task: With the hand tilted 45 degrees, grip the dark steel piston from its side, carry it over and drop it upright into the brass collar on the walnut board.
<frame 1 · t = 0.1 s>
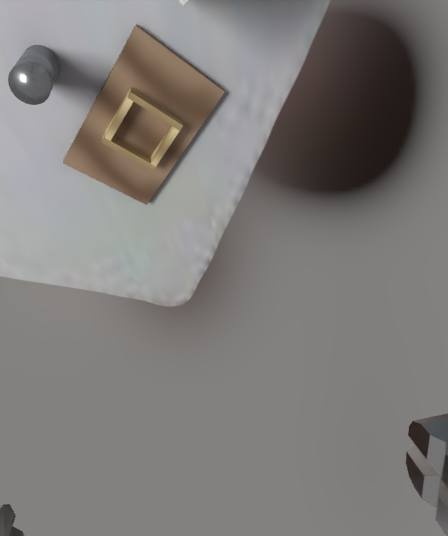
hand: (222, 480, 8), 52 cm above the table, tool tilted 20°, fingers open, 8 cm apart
collar board: (142, 125, 55), on the table
steel piston: (41, 63, 48), on the table
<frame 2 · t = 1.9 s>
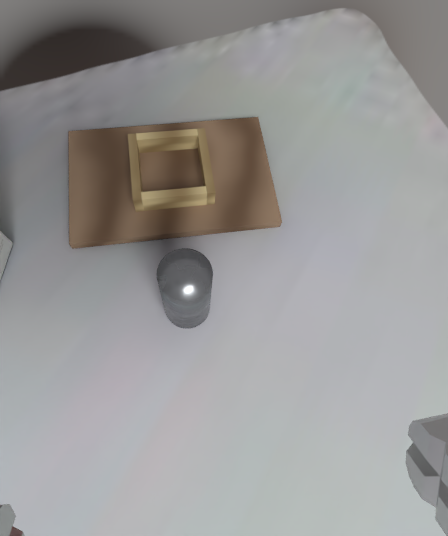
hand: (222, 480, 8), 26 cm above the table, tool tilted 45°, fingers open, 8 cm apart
collar board: (172, 180, 42), on the table
steel piston: (187, 306, 37), on the table
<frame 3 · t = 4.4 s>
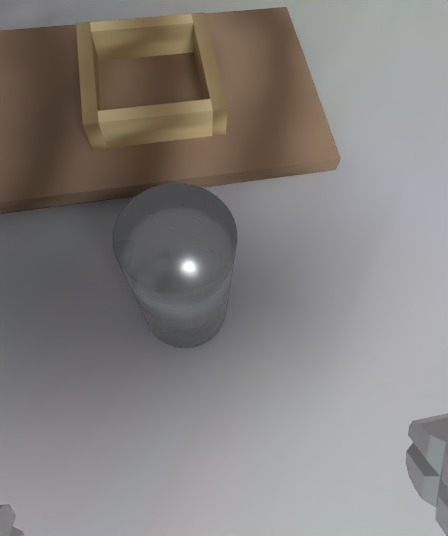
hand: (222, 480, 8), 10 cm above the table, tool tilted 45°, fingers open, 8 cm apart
collar board: (154, 104, 26), on the table
steel piston: (186, 308, 21), on the table
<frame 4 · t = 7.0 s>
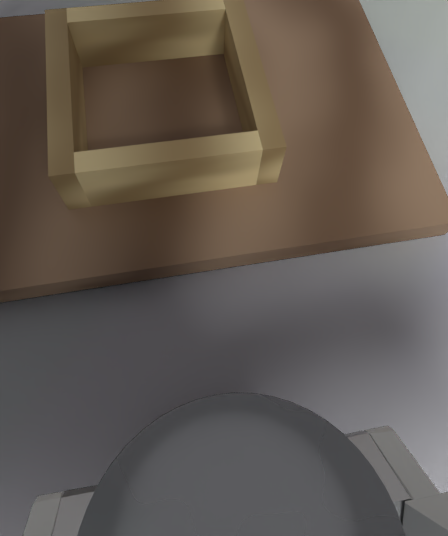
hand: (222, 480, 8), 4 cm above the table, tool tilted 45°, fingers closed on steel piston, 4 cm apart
collar board: (165, 132, 17), on the table
steel piston: (221, 489, 12), on the table, touching gripper
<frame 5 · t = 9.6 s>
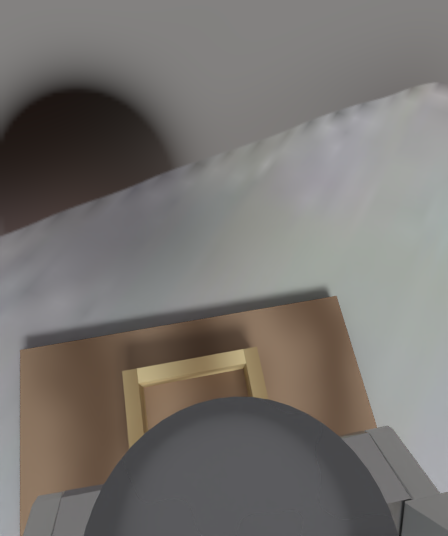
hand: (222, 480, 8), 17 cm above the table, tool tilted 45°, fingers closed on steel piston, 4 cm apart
collar board: (202, 431, 24), on the table
steel piston: (221, 489, 12), point 12 cm above the table, touching gripper
when the fingers open (7 cm above the table, at t = 12.5 s): steel piston stays where it is, resting on collar board.
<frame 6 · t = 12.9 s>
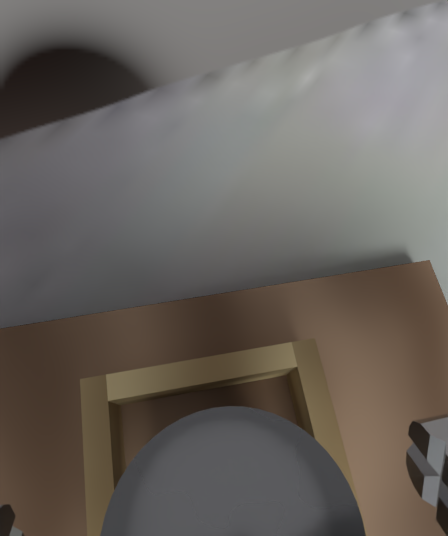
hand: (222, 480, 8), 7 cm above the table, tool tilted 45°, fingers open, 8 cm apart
collar board: (219, 479, 14), on the table
steel piston: (219, 486, 13), point 1 cm above the table, touching collar board
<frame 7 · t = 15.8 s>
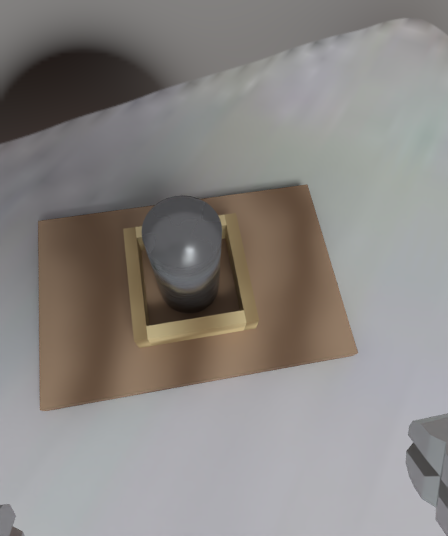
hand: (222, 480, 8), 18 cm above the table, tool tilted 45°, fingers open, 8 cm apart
collar board: (190, 288, 29), on the table
steel piston: (189, 285, 28), point 1 cm above the table, touching collar board
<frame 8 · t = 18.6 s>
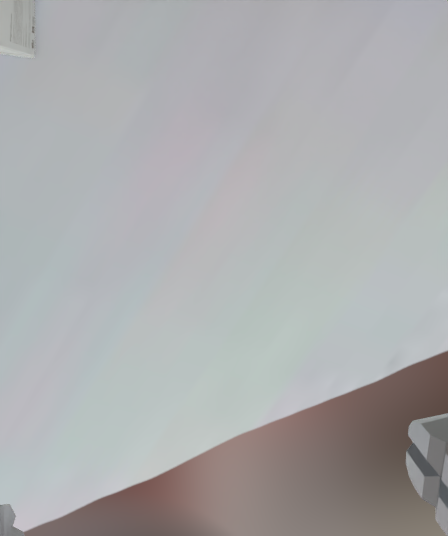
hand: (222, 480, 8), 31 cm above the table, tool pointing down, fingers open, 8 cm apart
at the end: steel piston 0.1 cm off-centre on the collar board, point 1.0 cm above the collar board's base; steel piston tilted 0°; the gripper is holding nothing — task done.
